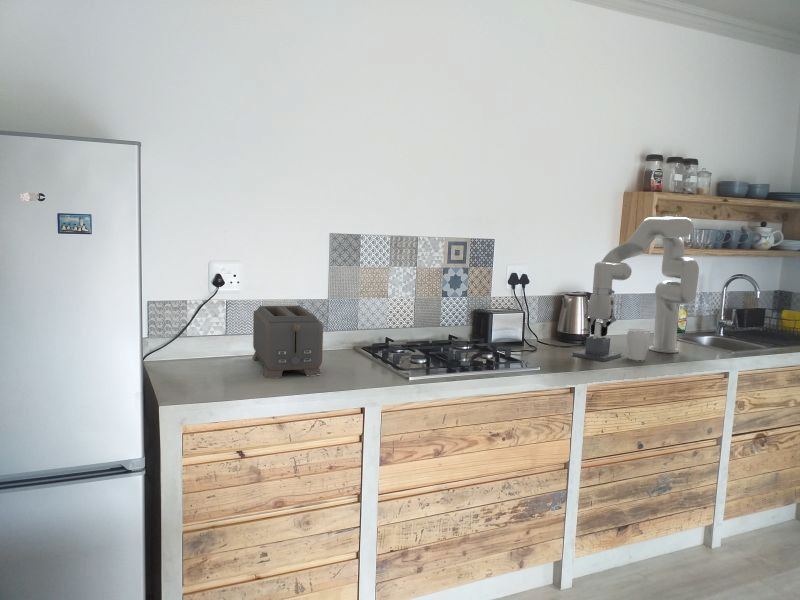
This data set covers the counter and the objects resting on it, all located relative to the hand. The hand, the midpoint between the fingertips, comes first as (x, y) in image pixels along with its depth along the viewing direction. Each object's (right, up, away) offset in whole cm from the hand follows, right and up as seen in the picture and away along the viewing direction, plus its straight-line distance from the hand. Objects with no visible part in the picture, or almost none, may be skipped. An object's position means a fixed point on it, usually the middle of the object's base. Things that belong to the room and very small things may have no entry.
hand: (598, 334), depth 274 cm
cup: (+16, -10, -1) cm, 19 cm away
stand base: (0, -9, +1) cm, 9 cm away
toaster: (-124, -10, -42) cm, 131 cm away
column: (0, -8, +1) cm, 8 cm away
